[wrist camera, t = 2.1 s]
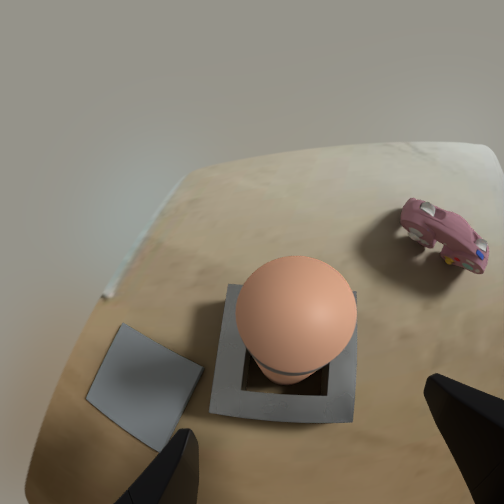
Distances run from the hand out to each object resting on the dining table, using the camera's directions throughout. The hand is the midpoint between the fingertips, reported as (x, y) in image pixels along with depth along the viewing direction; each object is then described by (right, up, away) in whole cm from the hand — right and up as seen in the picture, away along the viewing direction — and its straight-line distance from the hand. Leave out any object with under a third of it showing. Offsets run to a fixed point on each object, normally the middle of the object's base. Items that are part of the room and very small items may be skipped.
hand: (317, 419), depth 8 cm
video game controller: (+16, +6, +14) cm, 22 cm away
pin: (0, -2, +11) cm, 11 cm away
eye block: (0, -2, +11) cm, 11 cm away
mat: (-11, -5, +11) cm, 16 cm away
